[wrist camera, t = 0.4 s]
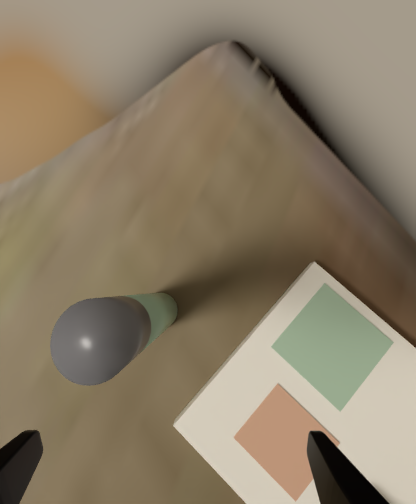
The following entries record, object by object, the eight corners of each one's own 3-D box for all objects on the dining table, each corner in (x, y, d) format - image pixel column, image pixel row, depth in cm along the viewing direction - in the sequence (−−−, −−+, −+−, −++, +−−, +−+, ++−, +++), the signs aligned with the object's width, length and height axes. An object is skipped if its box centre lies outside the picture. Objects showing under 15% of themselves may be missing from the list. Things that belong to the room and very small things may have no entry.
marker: (159, 337, 22) (89, 404, 9) (134, 311, 23) (33, 342, 10) (184, 309, 23) (150, 338, 10) (159, 285, 23) (94, 281, 10)
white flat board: (367, 623, 18) (392, 677, 16) (175, 419, 21) (170, 437, 18) (499, 425, 21) (540, 445, 18) (310, 262, 23) (322, 259, 21)
